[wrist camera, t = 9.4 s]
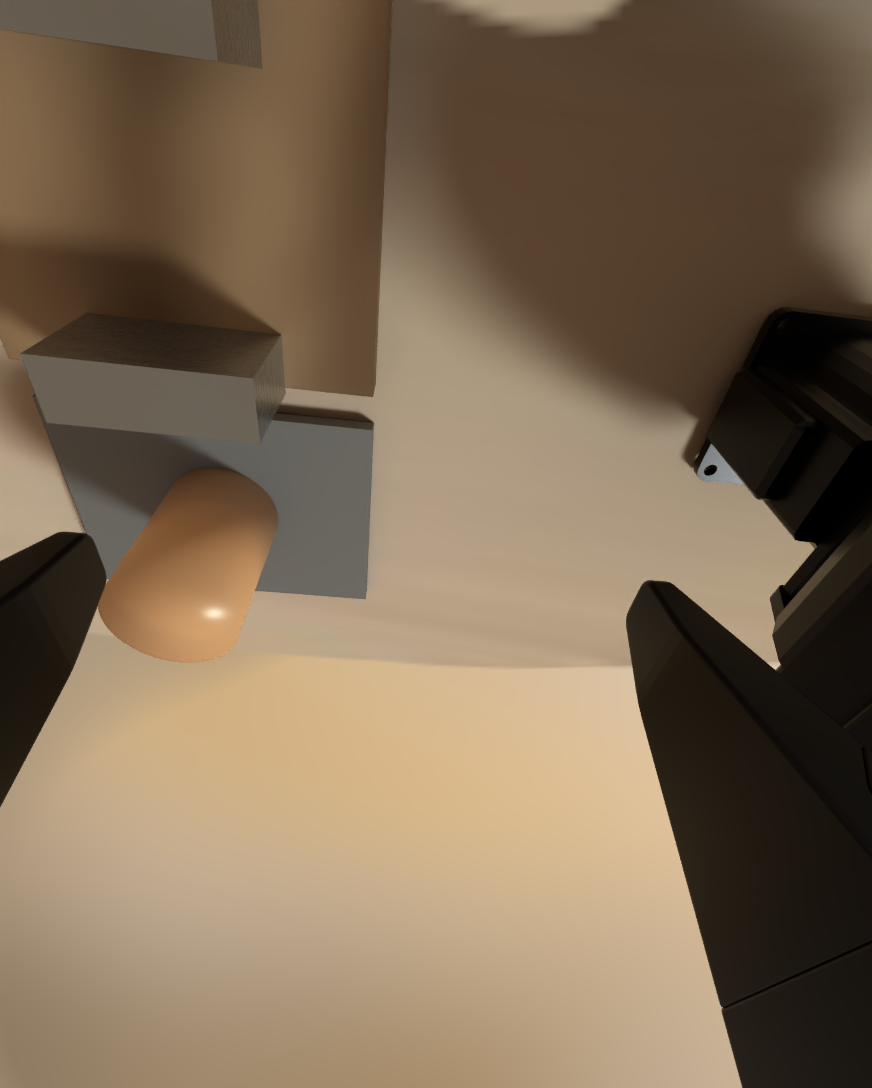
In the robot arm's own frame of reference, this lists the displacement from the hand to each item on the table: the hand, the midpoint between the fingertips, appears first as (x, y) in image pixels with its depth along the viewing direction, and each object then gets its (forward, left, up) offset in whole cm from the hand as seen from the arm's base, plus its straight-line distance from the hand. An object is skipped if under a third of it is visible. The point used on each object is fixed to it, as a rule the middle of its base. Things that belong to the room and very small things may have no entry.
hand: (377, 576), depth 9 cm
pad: (+7, +8, -12) cm, 16 cm away
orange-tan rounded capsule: (+7, +8, -11) cm, 16 cm away
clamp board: (+7, -3, -12) cm, 14 cm away
